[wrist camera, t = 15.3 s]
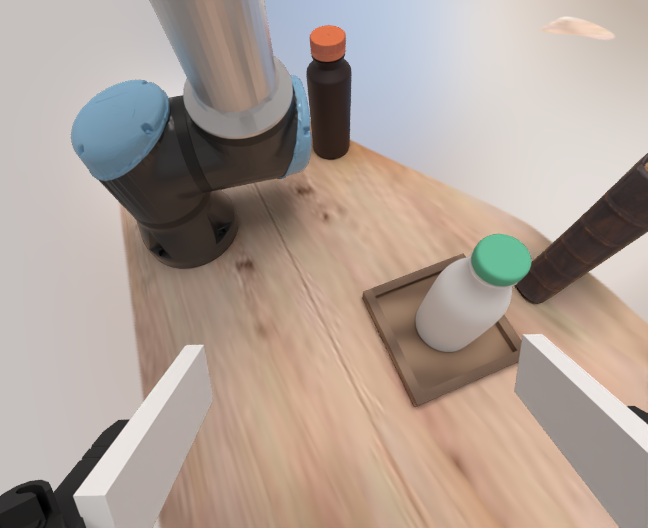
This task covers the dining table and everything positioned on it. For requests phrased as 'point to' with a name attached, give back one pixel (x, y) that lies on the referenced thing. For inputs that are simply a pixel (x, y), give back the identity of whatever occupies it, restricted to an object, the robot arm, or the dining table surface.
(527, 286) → the book
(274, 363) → the dining table surface
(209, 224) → the robot arm
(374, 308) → the walnut tray
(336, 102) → the vinegar
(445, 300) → the milk bottle
